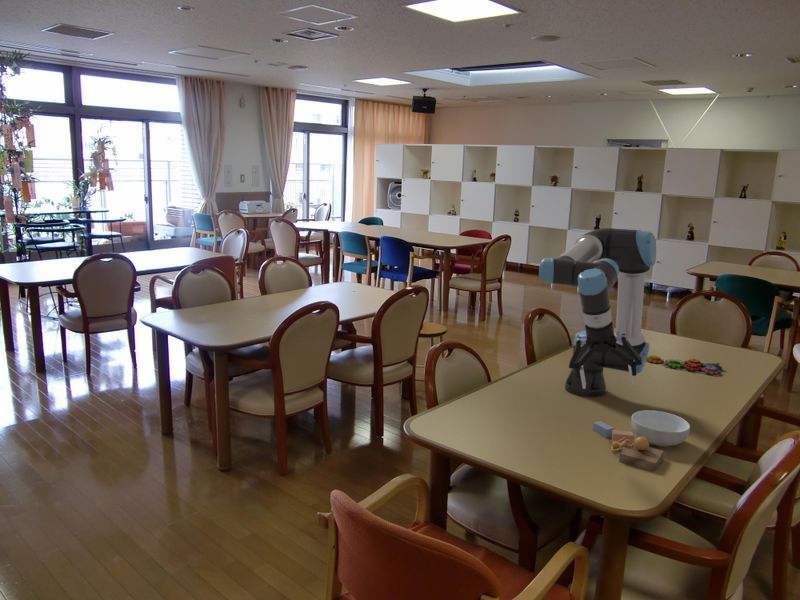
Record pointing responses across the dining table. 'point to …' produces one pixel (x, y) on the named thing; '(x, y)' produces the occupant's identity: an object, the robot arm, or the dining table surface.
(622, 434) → the terracotta brick
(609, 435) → the slate-blue brick
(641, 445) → the figurine
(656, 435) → the cereal bowl
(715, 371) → the gear puzzle
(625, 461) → the walnut plinth
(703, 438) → the dining table surface
